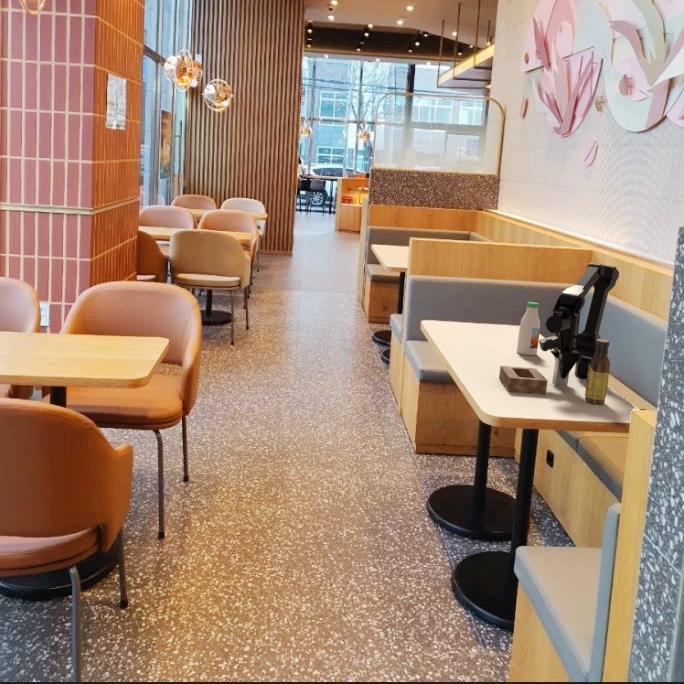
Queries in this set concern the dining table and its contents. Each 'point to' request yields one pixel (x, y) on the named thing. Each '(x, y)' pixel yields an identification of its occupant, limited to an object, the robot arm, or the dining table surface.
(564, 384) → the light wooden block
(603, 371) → the sauce bottle
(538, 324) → the milk bottle
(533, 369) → the well board
